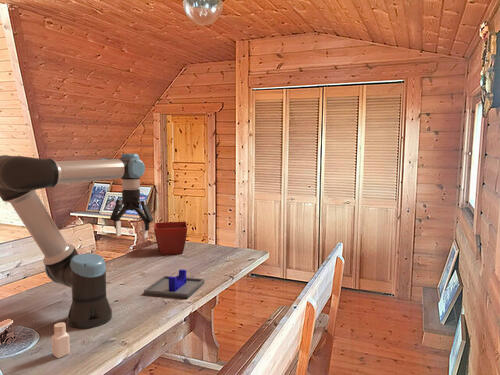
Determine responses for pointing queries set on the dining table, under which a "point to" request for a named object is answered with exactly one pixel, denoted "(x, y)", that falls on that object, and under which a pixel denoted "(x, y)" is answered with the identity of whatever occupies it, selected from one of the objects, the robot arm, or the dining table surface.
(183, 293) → the tray
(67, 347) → the salt shaker
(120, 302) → the dining table surface
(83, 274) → the robot arm
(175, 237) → the plant pot
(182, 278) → the cable clip
